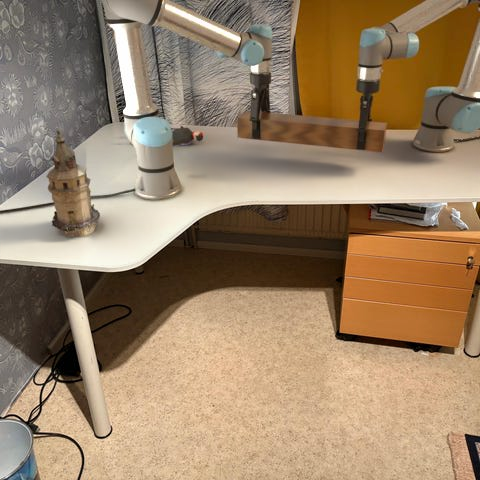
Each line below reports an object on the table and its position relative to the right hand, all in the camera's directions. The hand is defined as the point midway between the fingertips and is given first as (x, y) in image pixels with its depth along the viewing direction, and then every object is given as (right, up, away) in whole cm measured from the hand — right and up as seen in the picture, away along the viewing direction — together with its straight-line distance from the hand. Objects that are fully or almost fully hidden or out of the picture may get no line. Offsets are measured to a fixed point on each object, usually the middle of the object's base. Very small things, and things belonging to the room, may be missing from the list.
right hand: (362, 144), depth 188 cm
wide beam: (-18, +2, +5) cm, 19 cm away
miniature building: (-90, -30, -32) cm, 100 cm away
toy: (-72, +6, +33) cm, 80 cm away
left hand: (-35, +6, +10) cm, 37 cm away
